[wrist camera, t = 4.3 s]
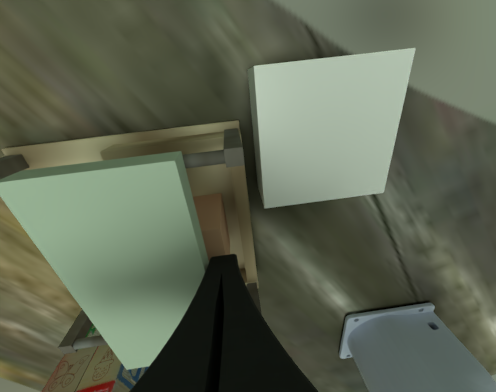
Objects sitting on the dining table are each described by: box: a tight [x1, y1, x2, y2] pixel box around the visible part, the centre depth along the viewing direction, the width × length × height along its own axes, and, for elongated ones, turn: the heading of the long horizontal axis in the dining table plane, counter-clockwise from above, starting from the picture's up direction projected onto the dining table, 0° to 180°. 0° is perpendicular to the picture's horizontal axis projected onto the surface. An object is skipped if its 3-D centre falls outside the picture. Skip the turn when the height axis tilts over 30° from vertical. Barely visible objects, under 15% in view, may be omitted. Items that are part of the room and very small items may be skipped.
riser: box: [247, 48, 416, 209], centre depth 12 cm, size 7×7×3 cm
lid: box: [0, 151, 209, 370], centre depth 11 cm, size 6×13×1 cm, turn 6°
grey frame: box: [0, 120, 262, 354], centre depth 14 cm, size 13×13×5 cm
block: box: [193, 193, 230, 261], centre depth 14 cm, size 4×4×4 cm
